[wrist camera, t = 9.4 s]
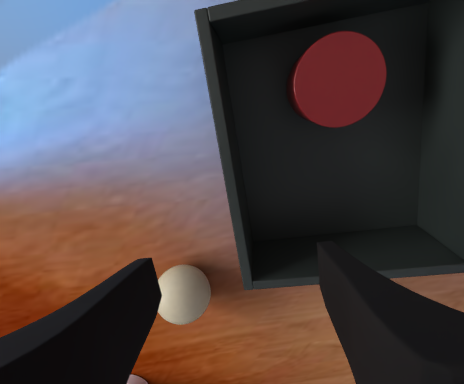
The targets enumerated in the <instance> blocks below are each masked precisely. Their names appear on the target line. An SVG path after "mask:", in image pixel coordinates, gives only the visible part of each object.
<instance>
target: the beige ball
mask: <svg viewBox="0 0 464 384" xmlns="http://www.w3.org/2000/svg"><path fill="white" fill-rule="evenodd" d="M158 283H159V286H160V290H161V293H162V298H161V302H160V305H159V309H158V312H159V314H160V315H161V316H162V317H163V318H164V319H165V320H167V321H168V322H171V323H174V324H187V323H191V322H193V321H195V320H196V319H198V318H199V317H200V316H201V315H202V314H203V313H204V312H205V310H206V308H207V307H208V304H209V301H210V296H211V289H210V284H209V281H208V279H207V277H206V276H205V274H204V273H203V272H202V271H201V270H199V269H198V268H196V267H194V266H191V265H177V266H174V267H172V268H170V269H168V270H167V271H166V272H165V273H164V274H163V275H162V276H161V277H160V278H159V280H158Z"/></svg>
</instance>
